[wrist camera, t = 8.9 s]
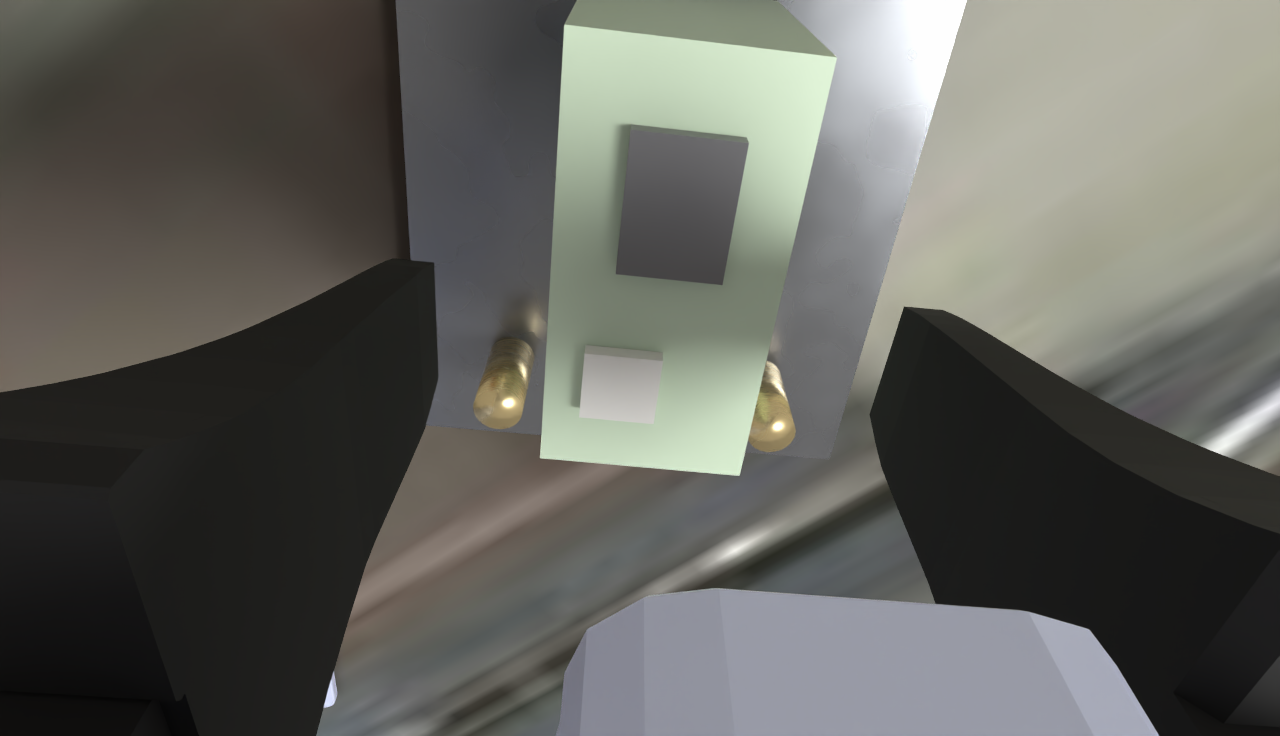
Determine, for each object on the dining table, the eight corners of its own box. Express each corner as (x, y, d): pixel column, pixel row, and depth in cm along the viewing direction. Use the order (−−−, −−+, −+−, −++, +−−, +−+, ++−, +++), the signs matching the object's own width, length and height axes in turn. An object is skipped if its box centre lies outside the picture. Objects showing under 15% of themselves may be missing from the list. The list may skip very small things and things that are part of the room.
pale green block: (716, 328, 21) (741, 485, 15) (565, 313, 21) (538, 467, 15) (777, 0, 17) (840, 61, 11) (588, -23, 16) (562, 27, 11)
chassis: (822, 438, 24) (847, 518, 21) (428, 404, 23) (396, 481, 20) (1007, -202, 15) (1092, -220, 13) (393, -283, 15) (331, -322, 12)
